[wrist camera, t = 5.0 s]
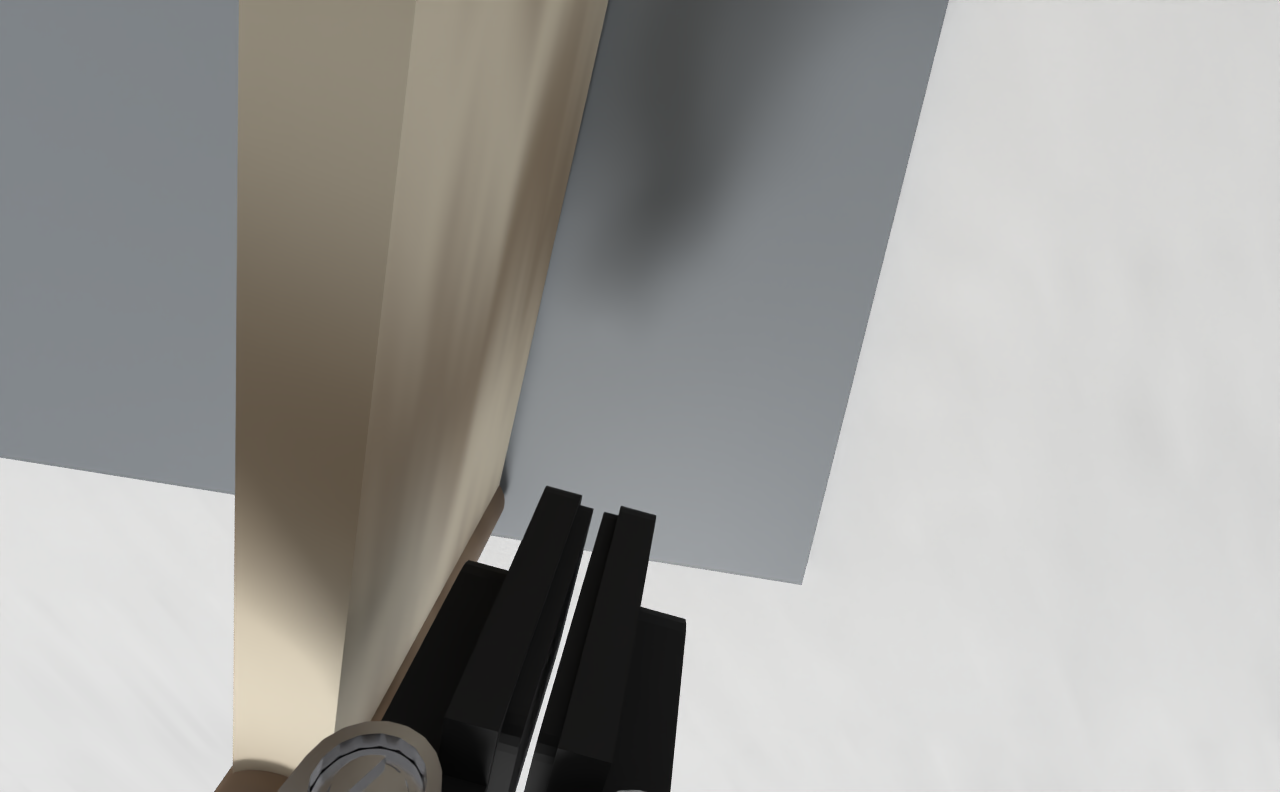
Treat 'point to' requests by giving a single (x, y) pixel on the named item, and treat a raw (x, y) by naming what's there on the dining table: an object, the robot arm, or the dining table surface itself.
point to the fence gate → (380, 329)
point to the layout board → (576, 278)
